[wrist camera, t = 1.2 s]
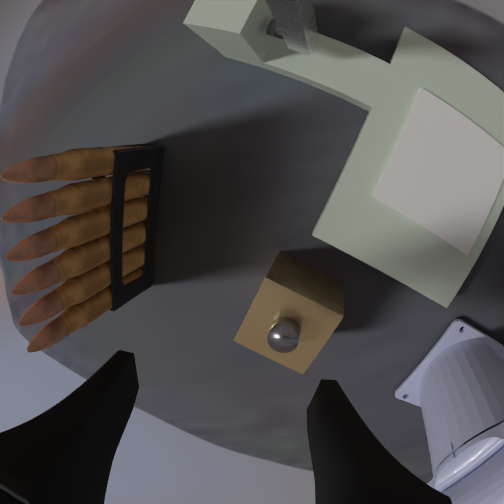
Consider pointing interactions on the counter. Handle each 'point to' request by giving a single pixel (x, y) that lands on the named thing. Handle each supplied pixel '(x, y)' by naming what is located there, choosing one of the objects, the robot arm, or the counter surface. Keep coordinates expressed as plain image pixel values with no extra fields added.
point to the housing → (292, 313)
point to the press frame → (392, 146)
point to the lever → (293, 24)
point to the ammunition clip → (87, 234)
